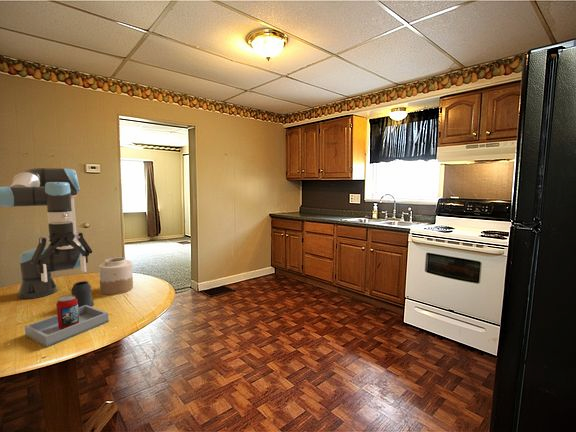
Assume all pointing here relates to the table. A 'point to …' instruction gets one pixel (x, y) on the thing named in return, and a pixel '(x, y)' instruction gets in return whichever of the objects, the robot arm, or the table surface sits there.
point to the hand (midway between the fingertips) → (65, 276)
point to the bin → (52, 334)
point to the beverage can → (67, 311)
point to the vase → (115, 276)
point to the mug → (82, 293)
